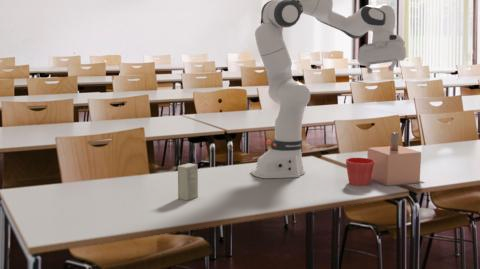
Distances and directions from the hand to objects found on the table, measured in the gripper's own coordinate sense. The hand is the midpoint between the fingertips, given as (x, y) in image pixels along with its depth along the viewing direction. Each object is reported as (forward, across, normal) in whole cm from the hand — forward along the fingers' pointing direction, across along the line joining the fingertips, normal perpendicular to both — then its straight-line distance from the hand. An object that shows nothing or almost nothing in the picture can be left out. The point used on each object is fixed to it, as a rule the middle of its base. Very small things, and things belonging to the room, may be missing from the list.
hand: (380, 71), depth 282 cm
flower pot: (+50, -3, -3) cm, 50 cm away
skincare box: (+69, -45, -54) cm, 99 cm away
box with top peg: (+44, +5, +10) cm, 45 cm away
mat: (+44, +5, +10) cm, 46 cm away
